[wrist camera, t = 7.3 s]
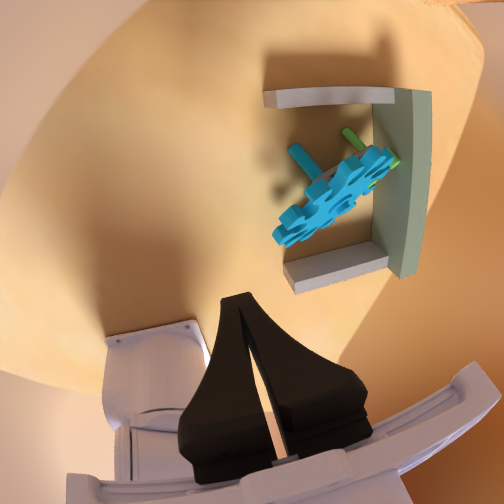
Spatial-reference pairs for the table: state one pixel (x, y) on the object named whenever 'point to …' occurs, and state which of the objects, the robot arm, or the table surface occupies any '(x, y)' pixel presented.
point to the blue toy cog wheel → (332, 188)
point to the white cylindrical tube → (456, 2)
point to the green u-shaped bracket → (387, 188)
